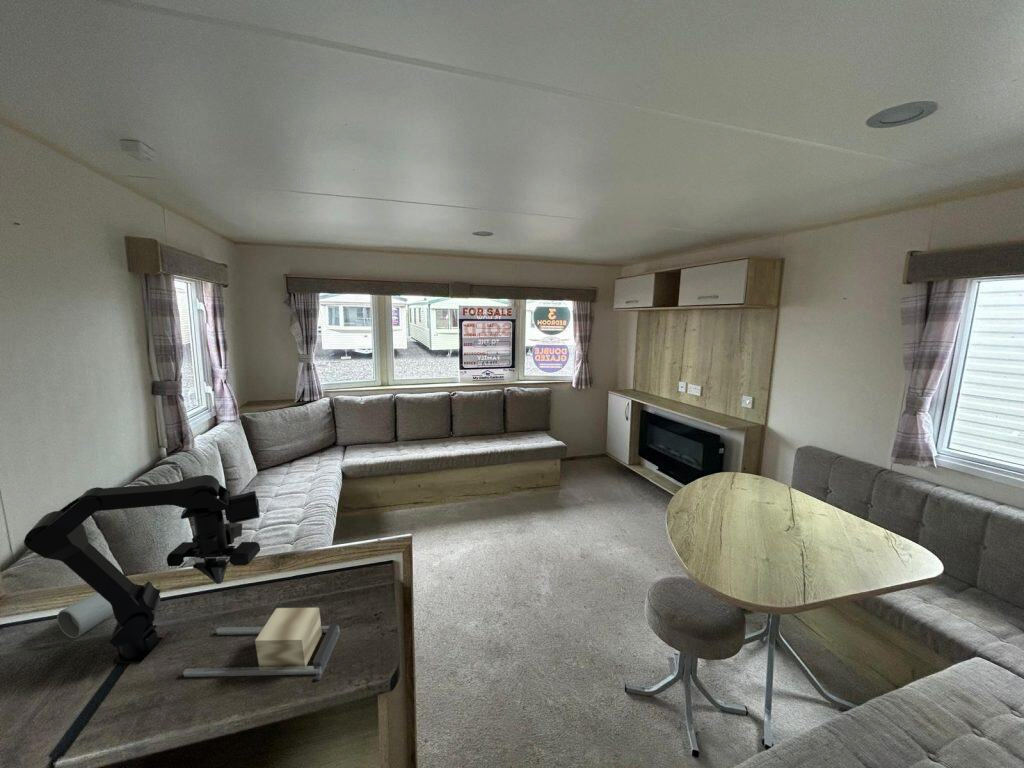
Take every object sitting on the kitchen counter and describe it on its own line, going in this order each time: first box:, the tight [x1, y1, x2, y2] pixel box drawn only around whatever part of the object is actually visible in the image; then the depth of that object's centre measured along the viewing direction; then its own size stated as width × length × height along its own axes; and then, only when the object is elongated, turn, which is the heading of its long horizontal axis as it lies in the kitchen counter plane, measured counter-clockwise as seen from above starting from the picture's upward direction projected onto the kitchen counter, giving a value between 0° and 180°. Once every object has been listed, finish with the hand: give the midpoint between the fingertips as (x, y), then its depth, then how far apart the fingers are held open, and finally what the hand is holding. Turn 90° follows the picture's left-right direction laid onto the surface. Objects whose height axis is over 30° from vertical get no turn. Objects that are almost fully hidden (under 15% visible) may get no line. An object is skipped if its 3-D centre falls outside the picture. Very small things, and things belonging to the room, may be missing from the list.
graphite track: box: [182, 623, 341, 681], centre depth 93 cm, size 29×12×4 cm, turn 93°
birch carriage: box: [254, 607, 323, 667], centre depth 93 cm, size 10×9×8 cm
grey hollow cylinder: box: [56, 592, 114, 639], centre depth 100 cm, size 11×8×8 cm
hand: (219, 582), depth 100 cm, fingers closed
